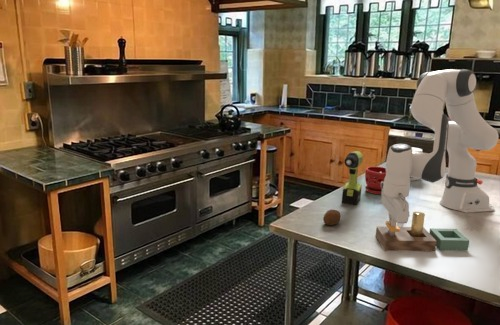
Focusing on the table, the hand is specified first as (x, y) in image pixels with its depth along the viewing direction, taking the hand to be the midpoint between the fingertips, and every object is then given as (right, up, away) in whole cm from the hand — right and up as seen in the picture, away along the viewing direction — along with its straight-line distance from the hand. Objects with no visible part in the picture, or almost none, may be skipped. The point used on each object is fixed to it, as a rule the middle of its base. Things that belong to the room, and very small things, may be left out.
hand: (392, 224), depth 150 cm
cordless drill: (-6, +3, +42) cm, 42 cm away
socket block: (+5, -7, +2) cm, 9 cm away
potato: (-18, -3, +19) cm, 27 cm away
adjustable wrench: (+10, -3, +22) cm, 24 cm away
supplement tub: (+39, +14, +82) cm, 92 cm away
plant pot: (+13, +8, +59) cm, 61 cm away
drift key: (0, -6, +2) cm, 6 cm away
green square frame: (+21, -7, +1) cm, 22 cm away
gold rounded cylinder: (+9, -7, +2) cm, 12 cm away
